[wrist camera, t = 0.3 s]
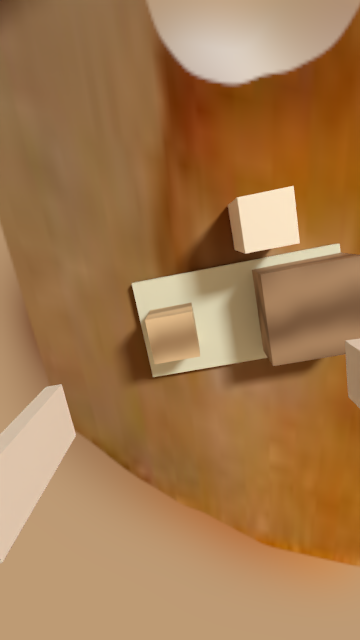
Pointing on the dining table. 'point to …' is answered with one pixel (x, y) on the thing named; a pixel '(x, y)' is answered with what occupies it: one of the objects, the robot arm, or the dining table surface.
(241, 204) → the white block
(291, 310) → the plinth
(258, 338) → the build board
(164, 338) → the oak cube
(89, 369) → the dining table surface
